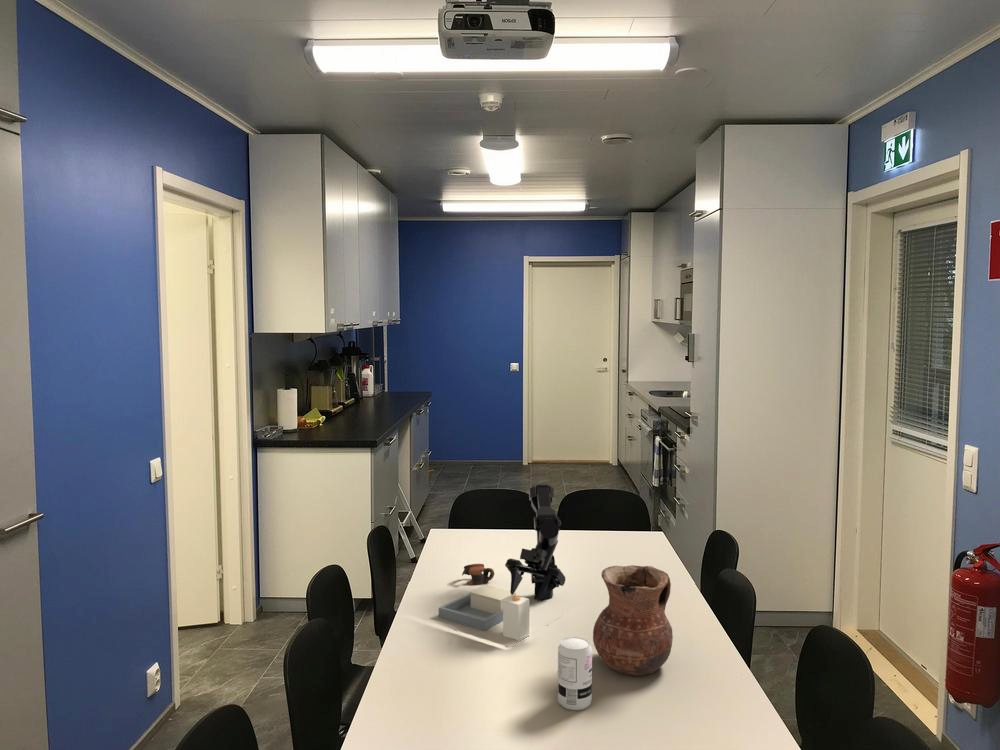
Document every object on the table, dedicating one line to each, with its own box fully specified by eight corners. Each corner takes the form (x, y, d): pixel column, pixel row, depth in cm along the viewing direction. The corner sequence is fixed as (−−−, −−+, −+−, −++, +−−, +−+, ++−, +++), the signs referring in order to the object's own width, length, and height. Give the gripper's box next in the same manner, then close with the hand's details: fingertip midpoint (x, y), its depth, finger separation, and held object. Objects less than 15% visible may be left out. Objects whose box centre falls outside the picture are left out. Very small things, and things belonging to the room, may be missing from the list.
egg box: (485, 599, 246) (485, 584, 245) (515, 607, 239) (515, 592, 238) (470, 607, 239) (470, 591, 239) (500, 615, 232) (500, 600, 232)
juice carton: (514, 632, 222) (514, 592, 221) (529, 637, 219) (529, 596, 218) (503, 638, 218) (503, 597, 217) (518, 643, 214) (518, 602, 214)
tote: (482, 598, 249) (482, 587, 249) (526, 610, 238) (526, 598, 238) (438, 620, 231) (438, 607, 231) (484, 634, 221) (484, 621, 220)
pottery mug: (459, 589, 259) (457, 565, 263) (469, 593, 267) (467, 569, 271) (492, 583, 256) (489, 559, 260) (501, 587, 264) (498, 563, 268)
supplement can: (555, 695, 185) (555, 636, 184) (588, 693, 185) (588, 635, 184) (560, 712, 177) (560, 651, 176) (595, 710, 177) (595, 649, 176)
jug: (655, 691, 186) (656, 593, 185) (579, 670, 198) (579, 578, 196) (683, 657, 205) (684, 568, 203) (613, 640, 216) (613, 556, 215)
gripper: (508, 532, 229) (487, 577, 221) (560, 542, 218) (540, 590, 210) (522, 551, 236) (502, 595, 228) (573, 561, 225) (555, 608, 217)
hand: (524, 597), depth 221 cm, fingers open, 9 cm apart
